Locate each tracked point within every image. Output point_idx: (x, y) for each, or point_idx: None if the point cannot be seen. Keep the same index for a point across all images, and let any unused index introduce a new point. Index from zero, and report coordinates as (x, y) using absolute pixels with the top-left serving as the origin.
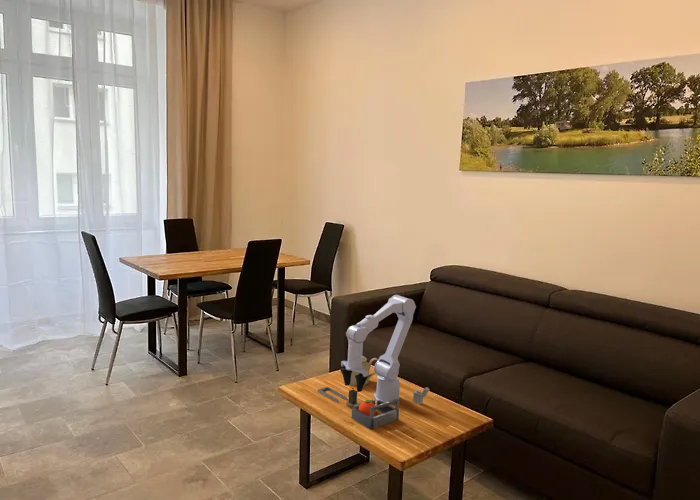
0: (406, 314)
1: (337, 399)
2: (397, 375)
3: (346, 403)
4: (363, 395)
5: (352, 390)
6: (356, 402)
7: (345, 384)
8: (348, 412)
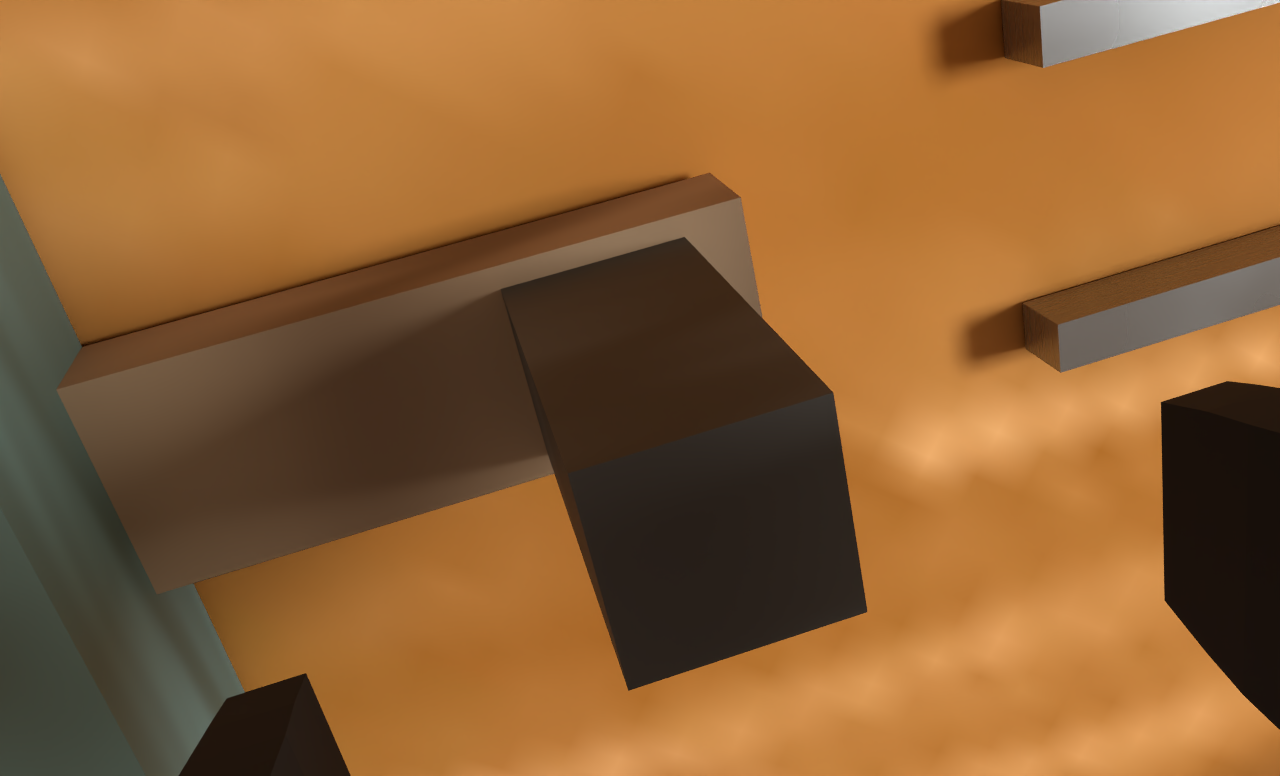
0: None
1: (1065, 34)
2: None
3: (722, 185)
4: (1019, 757)
5: (780, 537)
6: (546, 455)
7: (1227, 403)
8: (236, 21)
